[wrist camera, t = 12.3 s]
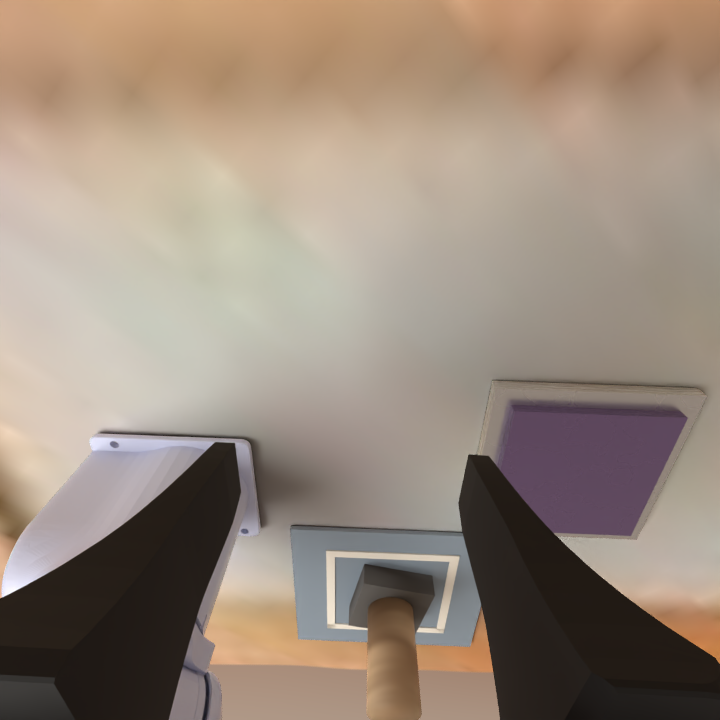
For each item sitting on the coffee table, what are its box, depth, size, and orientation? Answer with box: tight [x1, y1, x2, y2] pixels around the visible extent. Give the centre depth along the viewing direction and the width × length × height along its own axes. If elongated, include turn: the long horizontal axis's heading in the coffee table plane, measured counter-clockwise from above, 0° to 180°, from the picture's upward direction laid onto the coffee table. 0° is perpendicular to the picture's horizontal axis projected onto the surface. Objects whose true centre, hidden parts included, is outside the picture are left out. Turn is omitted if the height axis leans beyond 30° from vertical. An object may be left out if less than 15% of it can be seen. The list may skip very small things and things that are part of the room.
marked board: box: [290, 526, 481, 647], centre depth 32 cm, size 14×13×1 cm
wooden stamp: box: [348, 564, 435, 720], centre depth 28 cm, size 5×5×8 cm
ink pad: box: [477, 380, 707, 539], centre depth 25 cm, size 11×11×1 cm
